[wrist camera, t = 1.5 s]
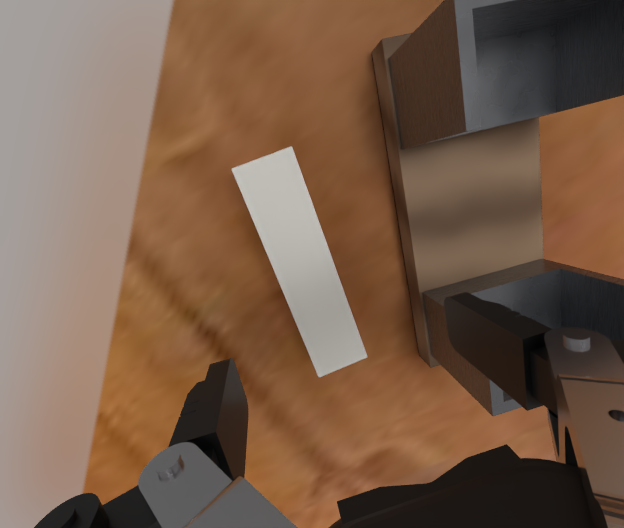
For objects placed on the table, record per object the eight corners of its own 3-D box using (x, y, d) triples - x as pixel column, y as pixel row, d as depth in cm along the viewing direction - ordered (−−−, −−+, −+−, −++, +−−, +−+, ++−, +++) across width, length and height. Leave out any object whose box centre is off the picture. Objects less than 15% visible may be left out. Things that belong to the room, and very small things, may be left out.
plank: (371, 51, 22) (381, 39, 21) (512, 23, 23) (534, 8, 22) (419, 355, 29) (430, 367, 27) (528, 323, 30) (546, 332, 28)
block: (236, 172, 23) (231, 168, 19) (287, 152, 24) (291, 146, 20) (311, 351, 28) (318, 377, 24) (353, 333, 28) (367, 357, 24)
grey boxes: (387, 59, 21) (453, -10, 14) (532, 28, 22) (665, -51, 15) (431, 354, 27) (492, 416, 20) (543, 321, 28) (642, 367, 20)
